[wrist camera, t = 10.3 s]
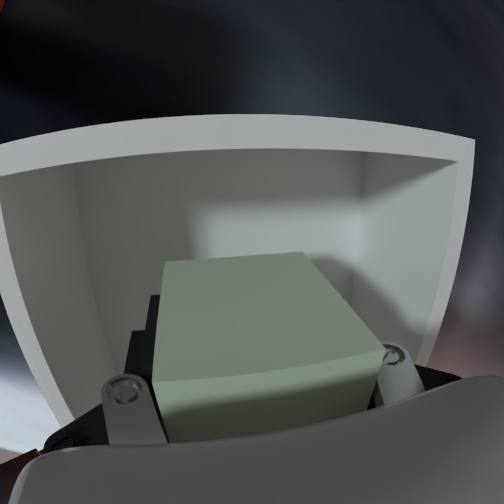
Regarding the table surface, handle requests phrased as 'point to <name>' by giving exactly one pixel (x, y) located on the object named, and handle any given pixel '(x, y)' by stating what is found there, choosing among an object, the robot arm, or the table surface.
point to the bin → (220, 227)
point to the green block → (257, 348)
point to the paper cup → (1, 4)
